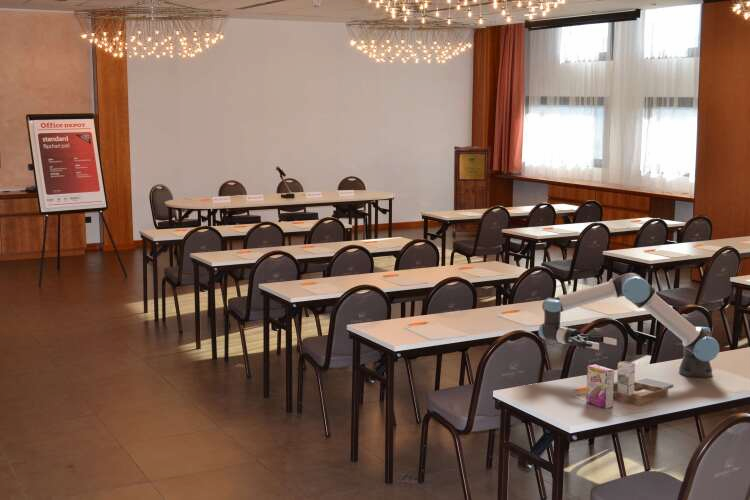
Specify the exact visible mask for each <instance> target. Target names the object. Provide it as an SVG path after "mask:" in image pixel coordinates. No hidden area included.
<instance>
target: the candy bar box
mask: <svg viewBox="0 0 750 500" xmlns="http://www.w3.org/2000/svg"><path fill="white" fill-rule="evenodd" d="M586 369H587V371H586V373H587V374H586V375H587V376H586V401H585V402H586V403H587V404H589V405H593V406H596V407H598V408H602V409H604V410H605V409H611V408H613V407H614V400H613V387H614V381H615V370H614V369H612V368H609V367H605V366H602V365H598V364H589V365H587V368H586Z"/></svg>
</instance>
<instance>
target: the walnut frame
mask: <svg viewBox="0 0 750 500" xmlns="http://www.w3.org/2000/svg"><path fill="white" fill-rule="evenodd" d="M637 381H638V380H637ZM637 381H636V380H634V390H637V391H640V390H643V389H644V390H648V391H653V392H652V393H649V394H646V395H643V396H640V397H635V396H631V395H627V394H623V393H619V392H617V381H615V382H614V387H613V401H618V402H621V403H626V404H630V405H634V406H637V407H640V406H643V405H645V404H648V403H651V402H652V403H653V402H654V401H657V400H659V399H662V398H666V397H668V396H669V388H663V387H658V386H654V385H650V384H645V383H641V382H637ZM615 390H616V391H615Z"/></svg>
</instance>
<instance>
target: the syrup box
mask: <svg viewBox="0 0 750 500" xmlns="http://www.w3.org/2000/svg"><path fill="white" fill-rule="evenodd" d="M635 376H636V363H635V362H630V361H625V360H623V361H622V360H621V361H619V362H618V363H617V377H616V378H617V381H616V382H617V390H616V392H619V393H623V394H627V395H631V394H632V393H635V389H634V381H635V378H636V377H635Z"/></svg>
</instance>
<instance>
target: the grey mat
mask: <svg viewBox="0 0 750 500" xmlns="http://www.w3.org/2000/svg"><path fill="white" fill-rule="evenodd" d="M637 382H641V383H645V384H650V385H654V386H658V387H663V388H667V389H670V388H673V387H674V384H673V383H670V382H664V381H660V380H657V379H652V378H648V377H647V378H643V379H639V380H637Z"/></svg>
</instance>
